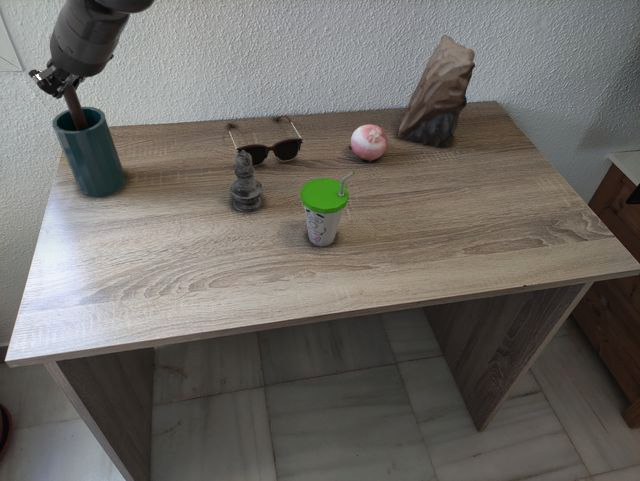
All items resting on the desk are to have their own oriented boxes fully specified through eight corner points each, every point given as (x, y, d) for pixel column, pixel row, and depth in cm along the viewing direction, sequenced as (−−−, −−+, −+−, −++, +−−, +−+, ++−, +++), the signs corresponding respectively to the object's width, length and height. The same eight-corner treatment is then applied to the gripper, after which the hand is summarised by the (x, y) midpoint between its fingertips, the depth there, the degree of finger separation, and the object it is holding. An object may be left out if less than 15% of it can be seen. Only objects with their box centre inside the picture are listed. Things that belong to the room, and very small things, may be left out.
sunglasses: (238, 169, 95) (236, 148, 92) (224, 130, 106) (221, 110, 103) (303, 159, 98) (303, 138, 95) (283, 122, 109) (282, 102, 106)
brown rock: (416, 112, 113) (435, 28, 99) (466, 130, 109) (493, 44, 94) (394, 137, 106) (411, 49, 91) (447, 156, 101) (473, 68, 87)
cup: (290, 240, 82) (290, 172, 71) (316, 216, 87) (319, 148, 76) (327, 260, 79) (333, 193, 68) (351, 234, 84) (361, 166, 73)
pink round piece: (358, 169, 97) (362, 140, 92) (342, 148, 102) (344, 119, 96) (391, 161, 99) (397, 132, 94) (374, 141, 104) (378, 112, 99)
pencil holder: (80, 201, 87) (52, 137, 76) (78, 174, 92) (52, 110, 82) (127, 192, 89) (106, 128, 79) (123, 166, 94) (103, 103, 84)
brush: (90, 189, 88) (45, 78, 72) (89, 175, 91) (45, 65, 75) (115, 184, 89) (76, 74, 73) (113, 170, 92) (75, 62, 76)
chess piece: (257, 189, 91) (253, 136, 82) (268, 208, 88) (265, 155, 79) (227, 196, 89) (221, 144, 80) (237, 216, 86) (231, 163, 77)
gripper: (109, -3, 67) (82, 55, 81) (19, 27, 59) (5, 86, 73) (143, 44, 69) (111, 93, 83) (60, 80, 61) (39, 128, 75)
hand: (61, 90), depth 78 cm, fingers closed on brush, 2 cm apart
